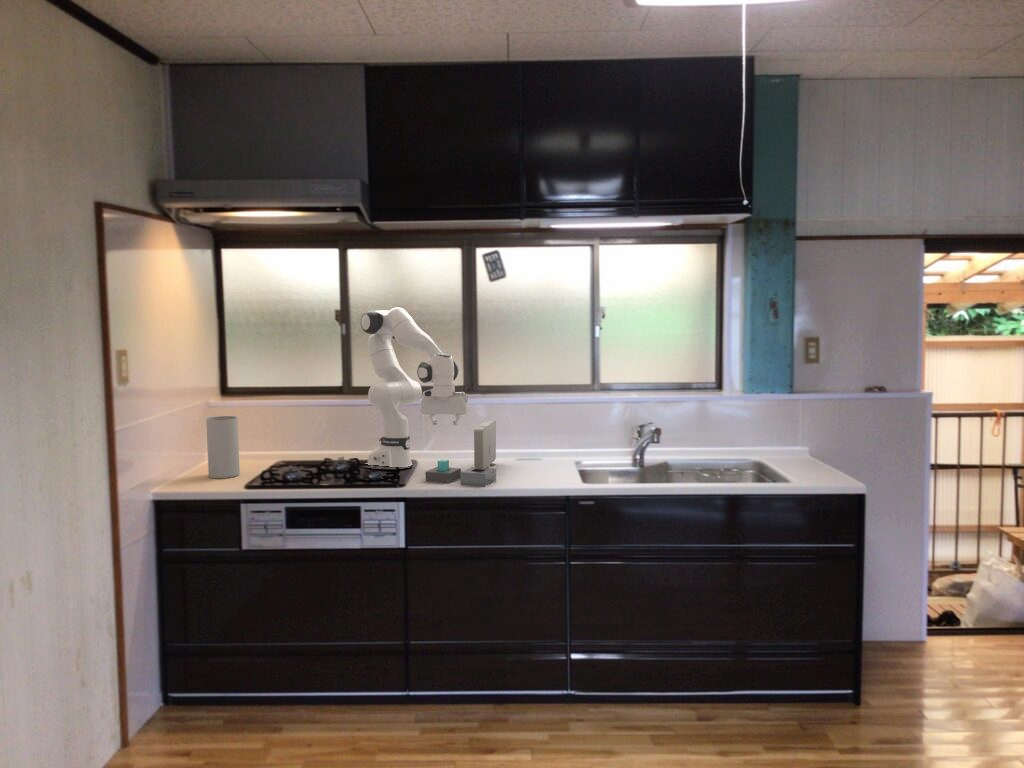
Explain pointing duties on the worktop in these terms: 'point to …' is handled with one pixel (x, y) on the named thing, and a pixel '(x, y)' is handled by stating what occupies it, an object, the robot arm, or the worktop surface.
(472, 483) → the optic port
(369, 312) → the robot arm
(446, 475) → the holster
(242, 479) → the worktop surface
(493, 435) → the network device
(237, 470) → the cylinder vase
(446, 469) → the plug
